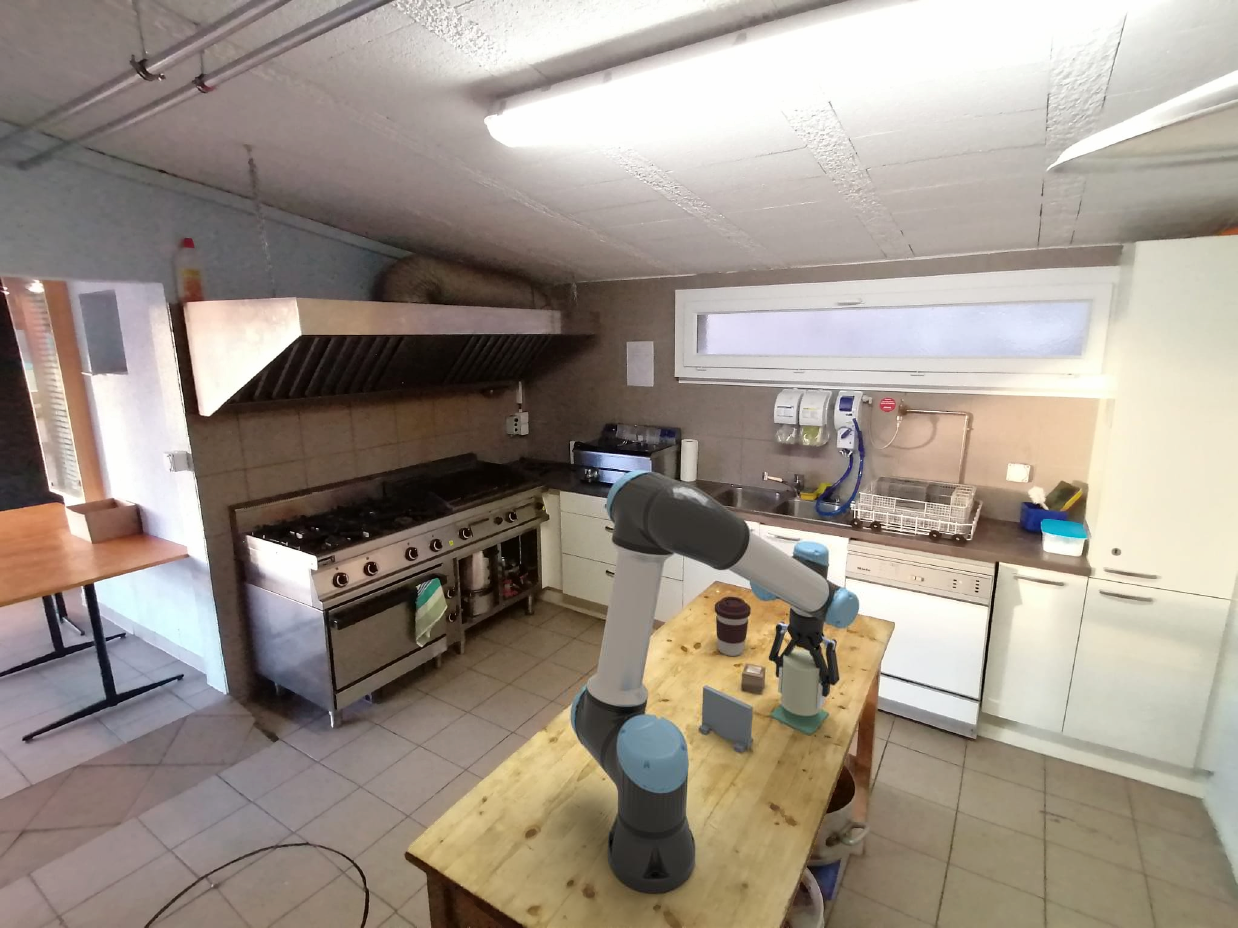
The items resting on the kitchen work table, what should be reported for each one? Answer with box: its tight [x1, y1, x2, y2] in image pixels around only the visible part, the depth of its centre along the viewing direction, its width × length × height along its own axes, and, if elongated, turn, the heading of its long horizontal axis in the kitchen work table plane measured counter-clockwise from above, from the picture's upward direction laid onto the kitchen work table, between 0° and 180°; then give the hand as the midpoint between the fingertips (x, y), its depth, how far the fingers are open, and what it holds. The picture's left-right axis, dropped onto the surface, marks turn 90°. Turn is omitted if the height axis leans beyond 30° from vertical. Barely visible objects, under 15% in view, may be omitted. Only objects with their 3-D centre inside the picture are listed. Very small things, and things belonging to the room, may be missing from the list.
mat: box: [769, 703, 830, 737], centre depth 139 cm, size 10×10×1 cm
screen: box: [698, 684, 754, 754], centre depth 131 cm, size 5×12×10 cm, turn 48°
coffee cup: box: [714, 596, 752, 657], centre depth 167 cm, size 10×10×15 cm
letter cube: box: [740, 662, 766, 696], centre depth 150 cm, size 5×5×5 cm
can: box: [779, 648, 822, 716], centre depth 138 cm, size 9×9×12 cm
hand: (800, 698), depth 138 cm, fingers closed on can, 9 cm apart
